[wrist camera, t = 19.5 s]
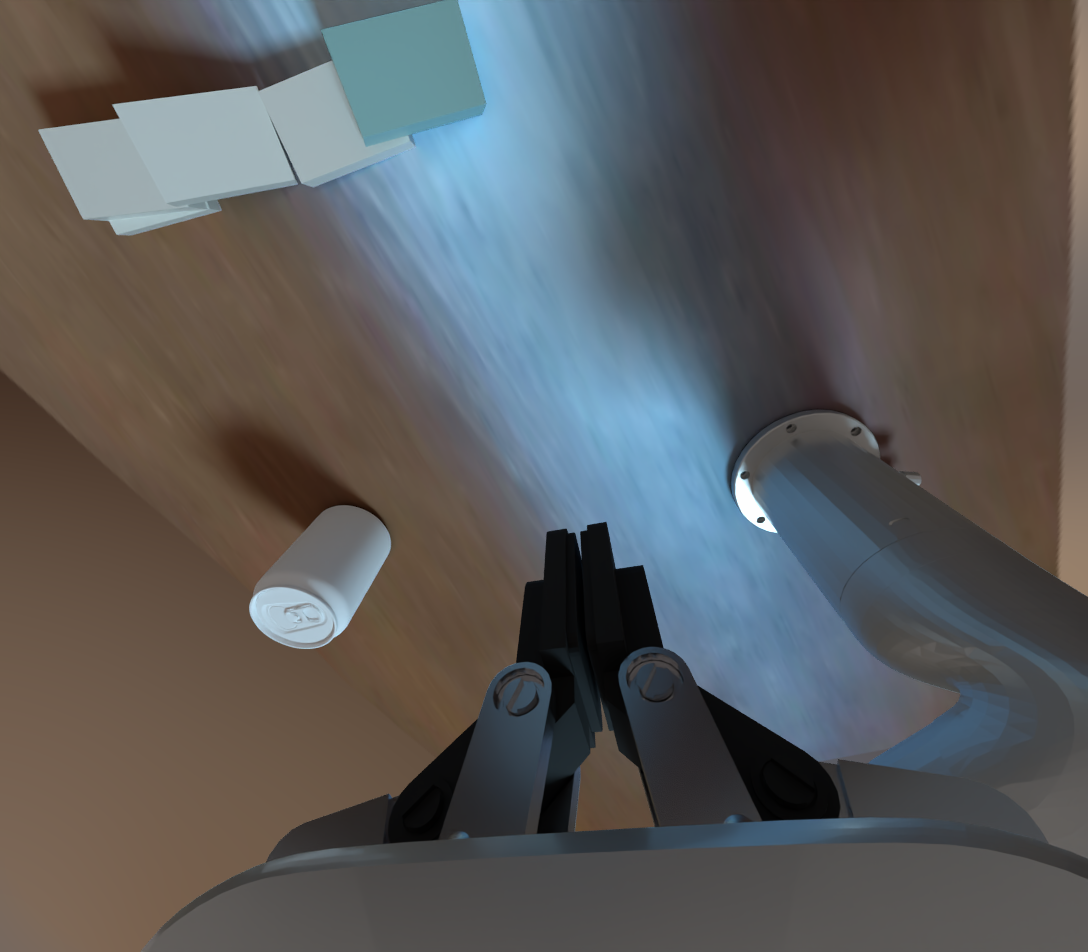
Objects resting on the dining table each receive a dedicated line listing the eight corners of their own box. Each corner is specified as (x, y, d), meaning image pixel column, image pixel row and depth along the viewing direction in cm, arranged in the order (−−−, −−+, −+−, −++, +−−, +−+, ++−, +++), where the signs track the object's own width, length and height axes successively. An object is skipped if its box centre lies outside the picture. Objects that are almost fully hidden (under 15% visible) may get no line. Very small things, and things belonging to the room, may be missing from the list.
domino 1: (256, 85, 27) (111, 104, 25) (295, 179, 29) (166, 203, 27) (261, 95, 28) (125, 114, 27) (298, 184, 31) (175, 207, 29)
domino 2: (151, 114, 27) (38, 129, 28) (188, 206, 29) (83, 219, 30) (174, 121, 29) (66, 136, 29) (207, 209, 31) (107, 220, 32)
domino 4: (374, 42, 26) (257, 91, 27) (410, 140, 28) (301, 183, 29) (383, 55, 27) (273, 101, 28) (416, 147, 30) (313, 187, 30)
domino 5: (456, -3, 25) (321, 29, 24) (486, 103, 27) (363, 137, 26) (453, 15, 26) (326, 46, 25) (481, 114, 29) (365, 146, 28)
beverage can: (304, 508, 45) (223, 589, 34) (375, 495, 43) (314, 575, 33) (338, 567, 48) (274, 657, 38) (404, 557, 47) (358, 647, 37)
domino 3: (169, 123, 29) (69, 154, 30) (210, 209, 31) (116, 234, 32) (189, 130, 30) (95, 158, 31) (227, 211, 32) (138, 235, 34)
